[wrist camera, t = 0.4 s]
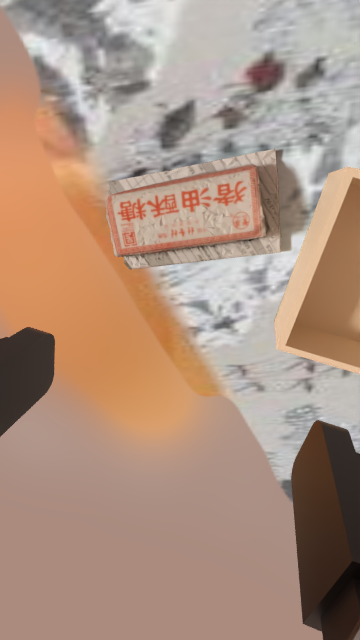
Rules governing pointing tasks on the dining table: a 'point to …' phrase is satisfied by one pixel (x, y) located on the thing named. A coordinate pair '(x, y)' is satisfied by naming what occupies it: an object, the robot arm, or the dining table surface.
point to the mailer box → (327, 281)
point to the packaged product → (197, 212)
